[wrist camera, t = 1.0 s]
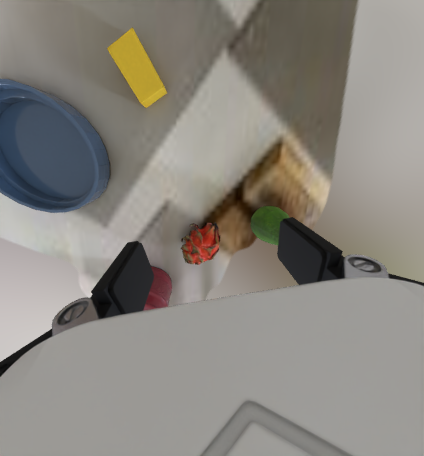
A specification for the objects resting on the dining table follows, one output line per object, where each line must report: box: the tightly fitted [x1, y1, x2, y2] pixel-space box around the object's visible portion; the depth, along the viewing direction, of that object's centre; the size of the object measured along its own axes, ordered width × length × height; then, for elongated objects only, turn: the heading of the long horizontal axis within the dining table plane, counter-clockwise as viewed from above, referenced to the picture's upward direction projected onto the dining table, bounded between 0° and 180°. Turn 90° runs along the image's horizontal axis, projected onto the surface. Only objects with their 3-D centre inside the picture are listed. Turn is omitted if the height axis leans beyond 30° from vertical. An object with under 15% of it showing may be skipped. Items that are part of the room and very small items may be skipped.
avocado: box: [251, 206, 289, 245], centre depth 33 cm, size 8×8×12 cm
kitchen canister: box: [143, 267, 172, 311], centre depth 37 cm, size 13×13×18 cm
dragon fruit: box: [181, 222, 220, 265], centre depth 36 cm, size 8×8×12 cm
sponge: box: [107, 28, 167, 108], centre depth 24 cm, size 7×4×3 cm, turn 29°
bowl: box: [0, 79, 110, 213], centre depth 27 cm, size 19×19×4 cm
